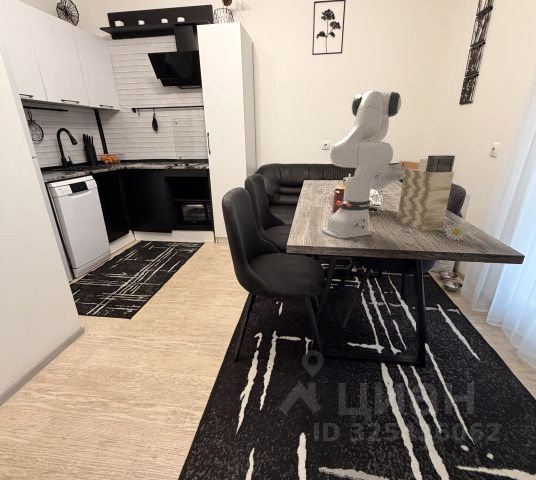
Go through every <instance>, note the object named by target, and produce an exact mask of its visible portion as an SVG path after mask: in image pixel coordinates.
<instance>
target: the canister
mask: <svg viewBox="0 0 536 480" xmlns="http://www.w3.org/2000/svg"><path fill="white" fill-rule="evenodd" d="M346 181H347V180H344V181H343V182H342V184H338V185H335V187H334V188H335V189H334V190H333V196H332V208H331V209H332V212H333V213H335V212H336V211H337V210H339V209H340V206H339V205H337V203H336V202H337V201H341V202H342V200H343V199H344V188H345V183H346Z"/></svg>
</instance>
